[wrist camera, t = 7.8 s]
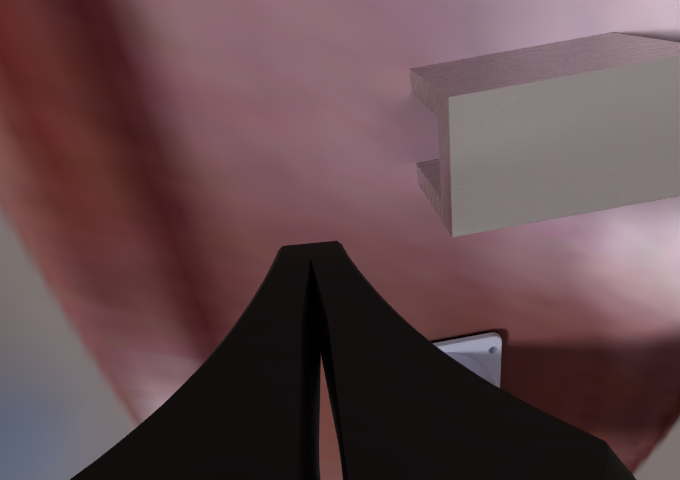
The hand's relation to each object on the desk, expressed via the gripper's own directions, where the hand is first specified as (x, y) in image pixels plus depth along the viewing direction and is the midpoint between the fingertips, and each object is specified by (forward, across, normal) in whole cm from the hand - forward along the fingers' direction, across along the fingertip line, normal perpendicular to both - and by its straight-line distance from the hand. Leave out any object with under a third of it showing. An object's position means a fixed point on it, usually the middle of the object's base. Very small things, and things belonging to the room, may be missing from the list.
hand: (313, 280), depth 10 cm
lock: (+10, -9, -1) cm, 13 cm away
